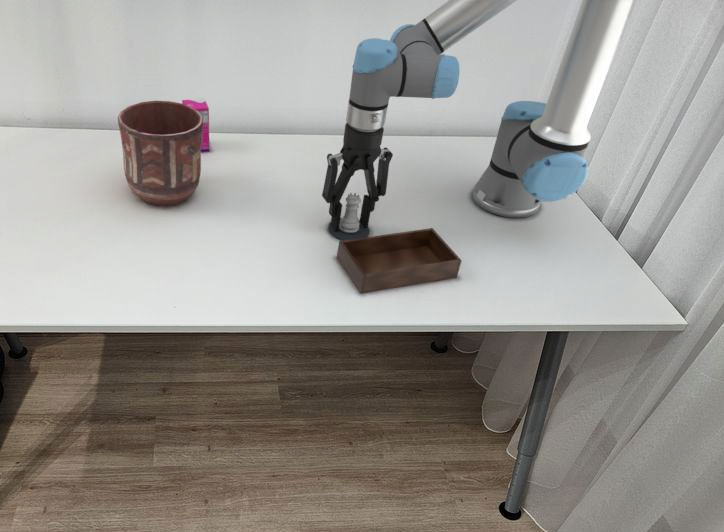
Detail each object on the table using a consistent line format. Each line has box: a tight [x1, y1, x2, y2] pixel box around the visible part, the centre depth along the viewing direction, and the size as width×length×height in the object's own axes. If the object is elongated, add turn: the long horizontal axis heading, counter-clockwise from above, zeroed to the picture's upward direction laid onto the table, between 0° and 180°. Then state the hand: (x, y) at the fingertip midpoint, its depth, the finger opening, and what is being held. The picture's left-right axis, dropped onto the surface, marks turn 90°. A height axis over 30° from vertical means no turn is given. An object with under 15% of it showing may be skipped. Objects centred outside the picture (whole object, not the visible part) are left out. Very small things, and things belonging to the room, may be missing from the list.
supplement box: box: [181, 97, 210, 153], centre depth 179 cm, size 6×6×12 cm
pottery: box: [117, 100, 203, 207], centre depth 159 cm, size 18×18×18 cm
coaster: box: [327, 217, 371, 241], centre depth 157 cm, size 9×9×1 cm
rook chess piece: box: [339, 192, 362, 233], centre depth 154 cm, size 4×4×8 cm
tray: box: [335, 227, 462, 295], centre depth 146 cm, size 21×12×4 cm, turn 108°
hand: (349, 226), depth 157 cm, fingers open, 6 cm apart
